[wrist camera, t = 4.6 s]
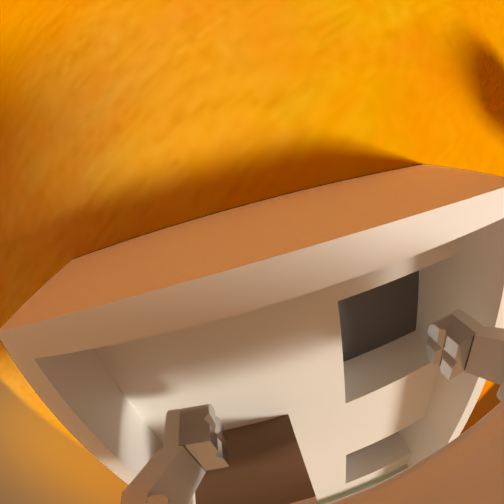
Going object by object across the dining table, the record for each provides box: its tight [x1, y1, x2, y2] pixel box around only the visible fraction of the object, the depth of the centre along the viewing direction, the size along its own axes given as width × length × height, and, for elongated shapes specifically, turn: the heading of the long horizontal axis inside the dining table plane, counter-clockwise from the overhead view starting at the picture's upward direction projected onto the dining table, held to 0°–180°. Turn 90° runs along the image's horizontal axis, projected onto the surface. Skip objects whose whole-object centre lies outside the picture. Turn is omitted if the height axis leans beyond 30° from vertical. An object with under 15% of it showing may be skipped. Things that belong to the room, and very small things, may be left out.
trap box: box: [0, 164, 504, 504], centre depth 13 cm, size 25×17×6 cm
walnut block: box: [195, 414, 318, 504], centre depth 10 cm, size 4×4×4 cm
